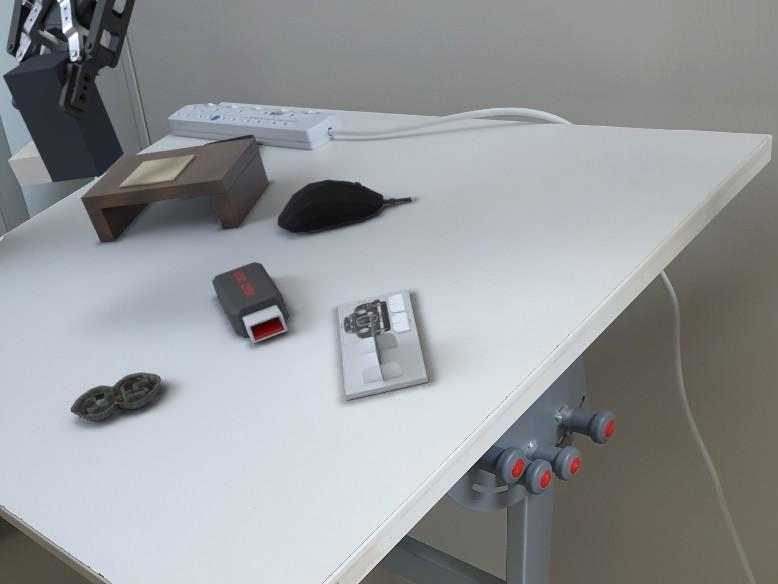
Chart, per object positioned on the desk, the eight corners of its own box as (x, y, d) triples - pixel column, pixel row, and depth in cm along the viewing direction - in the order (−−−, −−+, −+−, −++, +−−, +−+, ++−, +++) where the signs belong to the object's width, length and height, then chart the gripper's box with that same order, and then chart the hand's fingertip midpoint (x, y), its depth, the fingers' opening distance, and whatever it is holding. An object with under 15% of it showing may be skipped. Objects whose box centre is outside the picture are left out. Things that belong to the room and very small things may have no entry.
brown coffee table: (100, 242, 104) (79, 196, 100) (140, 199, 112) (122, 154, 109) (237, 227, 99) (220, 177, 95) (269, 183, 107) (254, 135, 104)
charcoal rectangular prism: (124, 153, 80) (81, 47, 74) (100, 176, 77) (53, 66, 71) (46, 164, 83) (-2, 62, 77) (20, 187, 79) (-33, 81, 73)
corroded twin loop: (74, 404, 77) (68, 395, 76) (160, 373, 78) (156, 363, 77) (77, 433, 73) (71, 423, 72) (168, 400, 74) (163, 390, 73)
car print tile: (428, 381, 69) (417, 332, 66) (346, 400, 69) (332, 351, 66) (409, 293, 80) (399, 247, 77) (338, 310, 80) (326, 265, 77)
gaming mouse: (413, 212, 93) (405, 175, 90) (278, 241, 94) (267, 205, 91) (409, 189, 97) (402, 153, 95) (281, 217, 99) (271, 183, 96)
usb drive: (266, 280, 88) (258, 254, 86) (298, 329, 79) (289, 302, 77) (217, 297, 87) (208, 272, 85) (244, 349, 78) (234, 322, 76)
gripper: (4, -109, 74) (-38, 91, 76) (106, -129, 66) (56, 94, 68) (80, -54, 80) (39, 129, 82) (182, -66, 72) (134, 136, 74)
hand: (47, 113), depth 75 cm, fingers closed on charcoal rectangular prism, 6 cm apart
